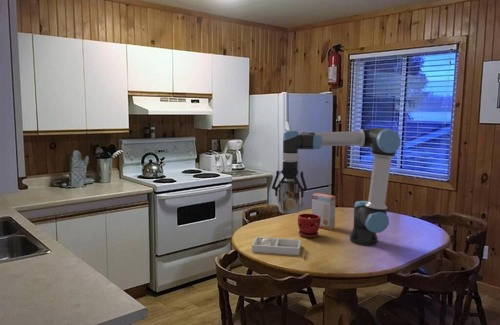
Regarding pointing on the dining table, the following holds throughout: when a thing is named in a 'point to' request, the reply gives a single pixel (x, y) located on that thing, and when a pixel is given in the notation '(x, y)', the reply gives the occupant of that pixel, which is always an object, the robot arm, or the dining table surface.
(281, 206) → the coffee box
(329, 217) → the cracker box
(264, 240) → the egg
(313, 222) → the plant pot
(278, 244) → the divided tray
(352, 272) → the dining table surface
